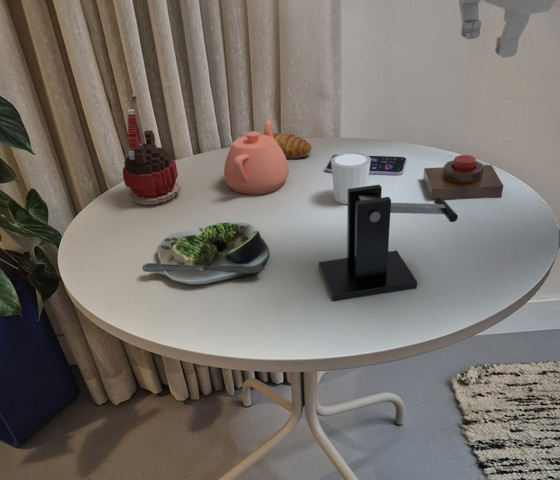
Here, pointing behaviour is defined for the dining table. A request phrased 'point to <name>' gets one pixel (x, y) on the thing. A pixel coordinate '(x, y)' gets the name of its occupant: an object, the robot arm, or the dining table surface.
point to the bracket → (367, 252)
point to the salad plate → (211, 253)
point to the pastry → (292, 145)
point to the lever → (419, 207)
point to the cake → (147, 164)
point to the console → (462, 182)
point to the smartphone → (382, 165)
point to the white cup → (349, 173)
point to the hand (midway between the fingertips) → (486, 46)
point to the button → (464, 163)
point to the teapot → (256, 163)
